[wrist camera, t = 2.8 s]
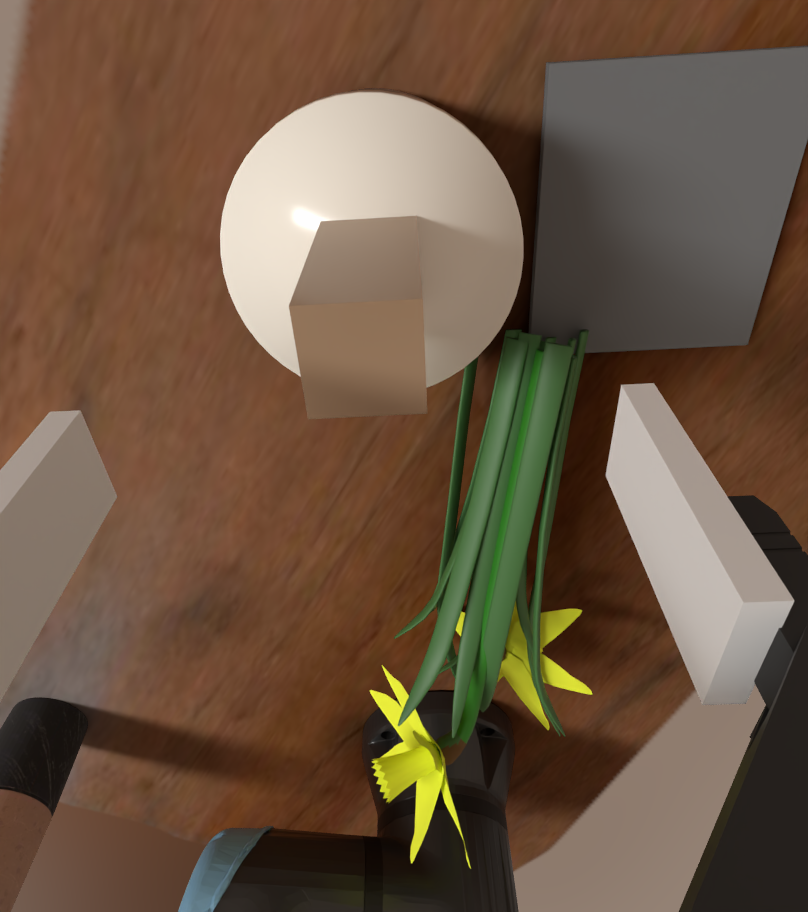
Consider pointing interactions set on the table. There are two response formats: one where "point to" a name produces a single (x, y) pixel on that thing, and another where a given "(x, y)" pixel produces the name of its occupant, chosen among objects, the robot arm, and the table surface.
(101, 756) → the table surface
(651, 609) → the table surface
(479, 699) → the daffodil flowers
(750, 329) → the mat
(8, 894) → the travel mug
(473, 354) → the lid
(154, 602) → the table surface
